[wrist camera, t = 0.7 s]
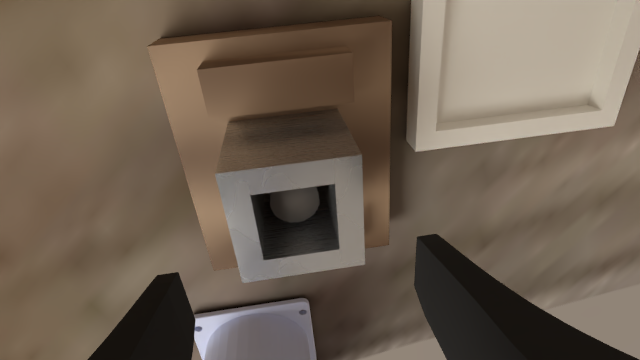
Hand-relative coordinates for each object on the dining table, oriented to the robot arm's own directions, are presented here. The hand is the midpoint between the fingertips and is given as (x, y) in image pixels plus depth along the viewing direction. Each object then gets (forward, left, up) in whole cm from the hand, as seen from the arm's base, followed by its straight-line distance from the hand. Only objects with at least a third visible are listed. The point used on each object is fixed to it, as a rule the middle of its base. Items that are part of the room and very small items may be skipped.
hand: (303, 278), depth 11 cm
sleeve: (0, 0, -8) cm, 8 cm away
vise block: (0, 0, -10) cm, 10 cm away
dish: (+5, -12, -10) cm, 16 cm away
